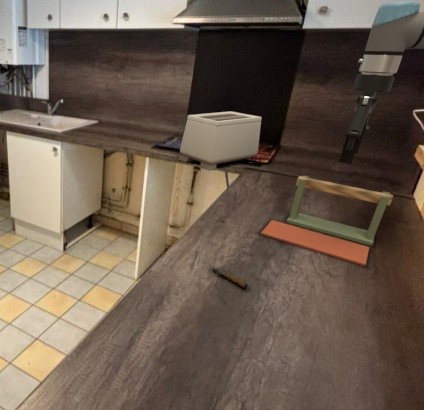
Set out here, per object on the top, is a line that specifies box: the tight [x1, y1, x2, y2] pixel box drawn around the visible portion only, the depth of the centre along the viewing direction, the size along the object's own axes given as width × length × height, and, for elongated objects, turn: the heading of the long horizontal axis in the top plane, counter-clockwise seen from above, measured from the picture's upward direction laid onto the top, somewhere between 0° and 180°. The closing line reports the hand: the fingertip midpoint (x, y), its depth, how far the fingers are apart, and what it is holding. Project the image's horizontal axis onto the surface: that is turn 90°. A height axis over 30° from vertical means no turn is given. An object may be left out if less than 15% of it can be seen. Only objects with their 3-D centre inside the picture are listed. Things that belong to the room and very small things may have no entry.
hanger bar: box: [295, 175, 394, 207], centre depth 100 cm, size 22×2×2 cm, turn 50°
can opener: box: [212, 266, 249, 289], centre depth 80 cm, size 9×2×1 cm, turn 29°
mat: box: [260, 219, 370, 267], centre depth 97 cm, size 24×11×1 cm, turn 50°
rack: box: [285, 175, 391, 247], centre depth 102 cm, size 21×8×14 cm, turn 50°
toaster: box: [177, 111, 263, 172], centre depth 164 cm, size 19×34×21 cm, turn 119°
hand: (348, 157), depth 96 cm, fingers open, 13 cm apart
